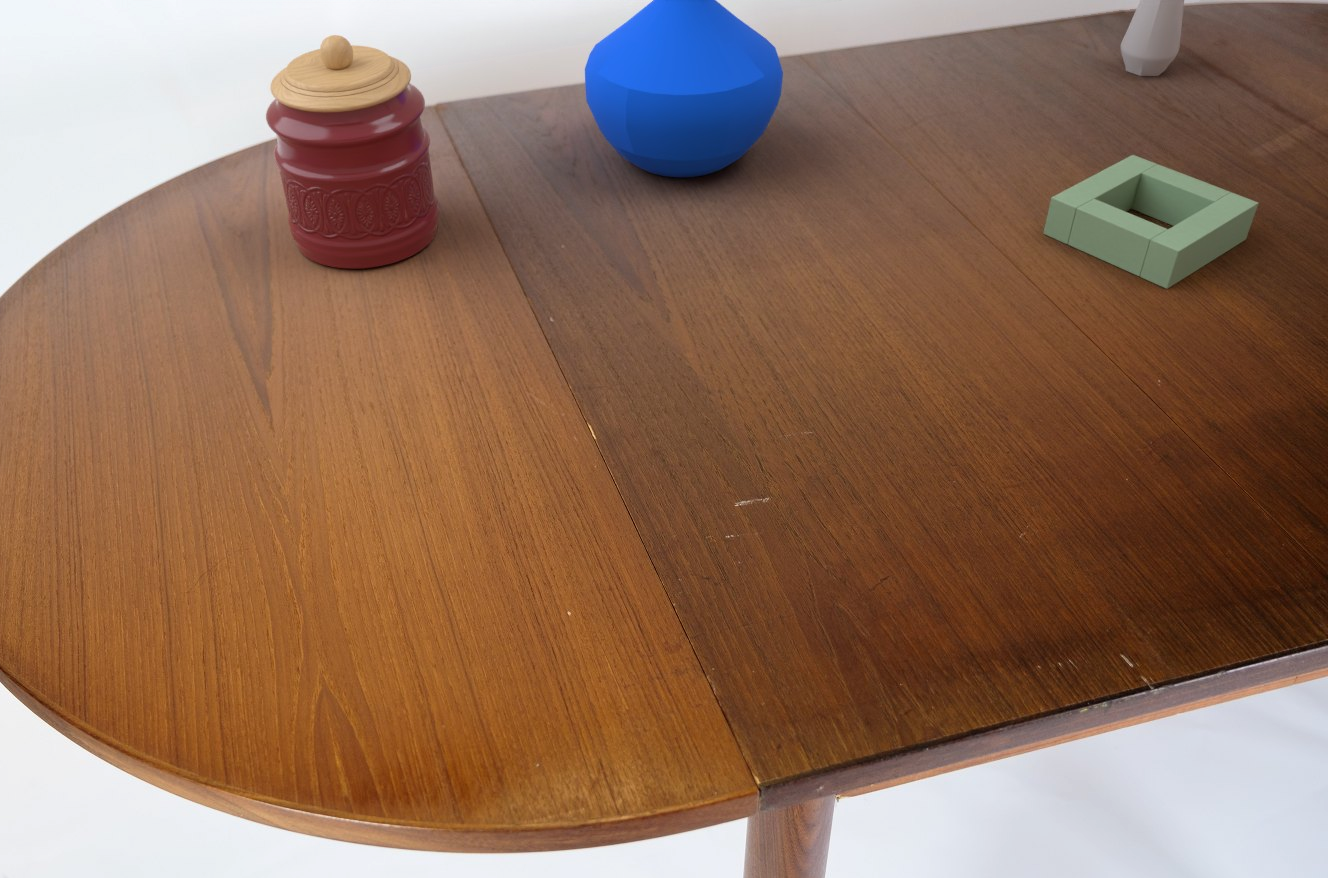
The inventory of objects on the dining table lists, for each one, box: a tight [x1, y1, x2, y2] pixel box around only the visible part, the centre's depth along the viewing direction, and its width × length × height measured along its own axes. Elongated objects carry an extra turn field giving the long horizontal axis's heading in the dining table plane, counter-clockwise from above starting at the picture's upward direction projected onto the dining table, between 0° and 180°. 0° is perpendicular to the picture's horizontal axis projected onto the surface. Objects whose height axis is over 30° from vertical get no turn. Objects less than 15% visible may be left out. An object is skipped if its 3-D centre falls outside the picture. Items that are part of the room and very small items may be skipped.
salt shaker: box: [1119, 0, 1185, 77], centre depth 128 cm, size 6×6×13 cm
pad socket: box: [1042, 154, 1259, 290], centre depth 105 cm, size 12×12×4 cm
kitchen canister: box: [265, 34, 440, 270], centre depth 104 cm, size 13×13×18 cm
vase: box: [584, 0, 784, 178], centre depth 114 cm, size 18×18×19 cm
